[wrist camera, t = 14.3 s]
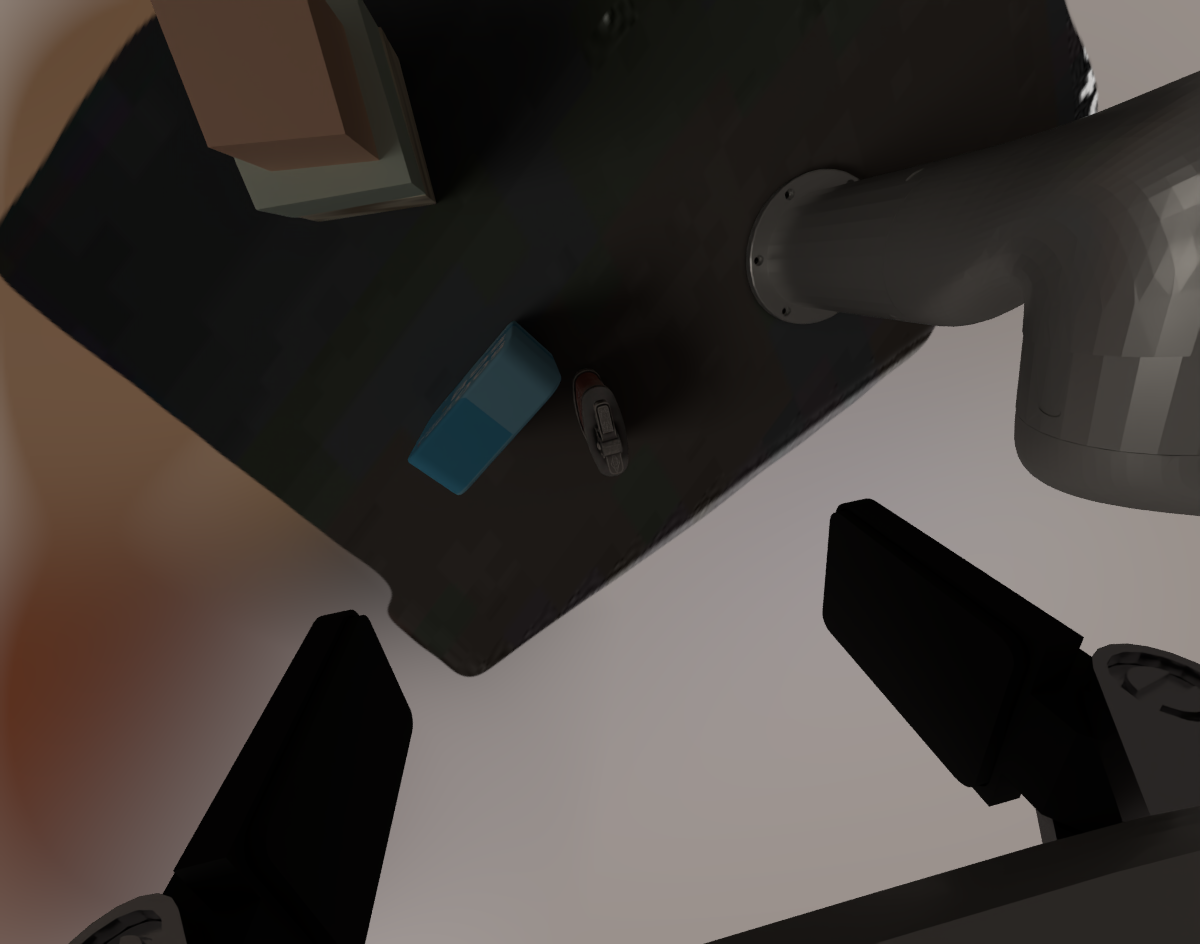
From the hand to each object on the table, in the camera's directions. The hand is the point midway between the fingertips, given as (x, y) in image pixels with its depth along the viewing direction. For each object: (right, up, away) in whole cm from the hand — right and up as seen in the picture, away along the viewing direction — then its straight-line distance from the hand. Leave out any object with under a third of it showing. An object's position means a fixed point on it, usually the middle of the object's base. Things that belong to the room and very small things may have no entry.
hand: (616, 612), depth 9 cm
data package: (-10, +11, +34) cm, 37 cm away
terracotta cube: (-17, +23, +16) cm, 33 cm away
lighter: (-1, +9, +36) cm, 37 cm away
